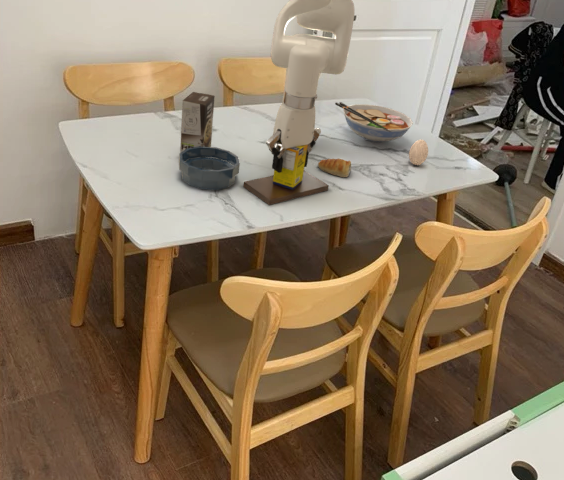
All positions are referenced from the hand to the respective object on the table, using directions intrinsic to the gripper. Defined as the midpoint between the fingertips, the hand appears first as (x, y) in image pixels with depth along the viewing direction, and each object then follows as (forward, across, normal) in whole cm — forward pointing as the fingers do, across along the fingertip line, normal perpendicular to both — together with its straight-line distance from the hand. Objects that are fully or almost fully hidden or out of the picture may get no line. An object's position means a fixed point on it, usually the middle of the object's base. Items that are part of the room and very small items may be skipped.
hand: (289, 167), depth 155 cm
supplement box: (+5, 0, 0) cm, 5 cm away
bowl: (+6, +16, -14) cm, 21 cm away
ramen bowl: (+6, -52, -17) cm, 55 cm away
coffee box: (+6, +10, -28) cm, 30 cm away
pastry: (+6, -20, -2) cm, 22 cm away
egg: (+6, -48, +4) cm, 49 cm away
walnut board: (+6, 0, 0) cm, 6 cm away
